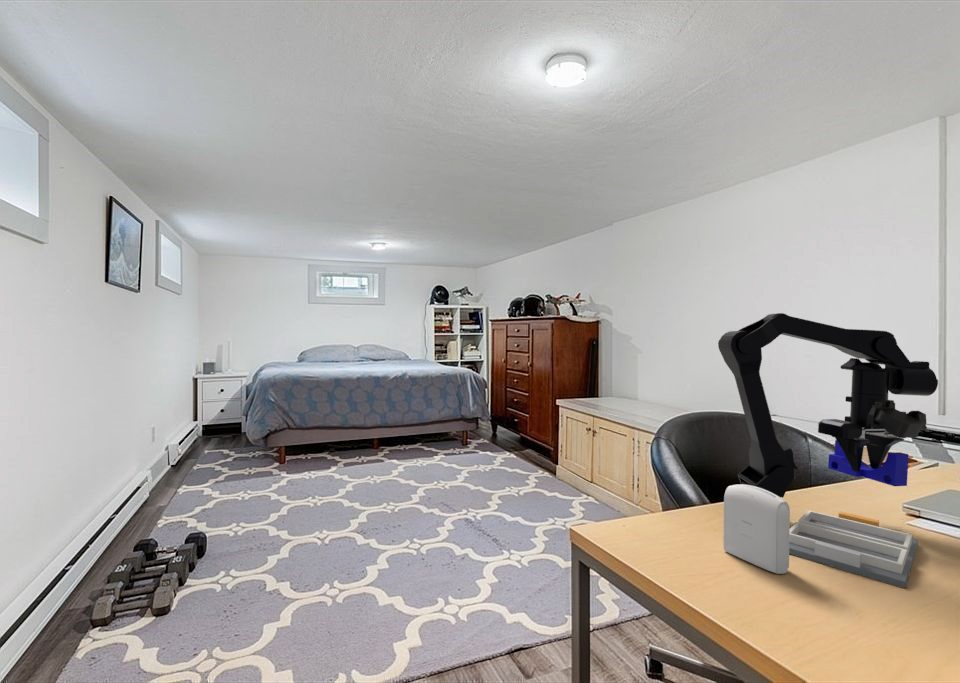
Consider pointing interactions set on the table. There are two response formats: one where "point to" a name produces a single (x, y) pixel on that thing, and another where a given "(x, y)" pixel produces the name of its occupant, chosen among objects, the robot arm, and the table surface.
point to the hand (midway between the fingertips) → (865, 470)
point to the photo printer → (757, 527)
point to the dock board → (854, 546)
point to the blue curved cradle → (888, 473)
